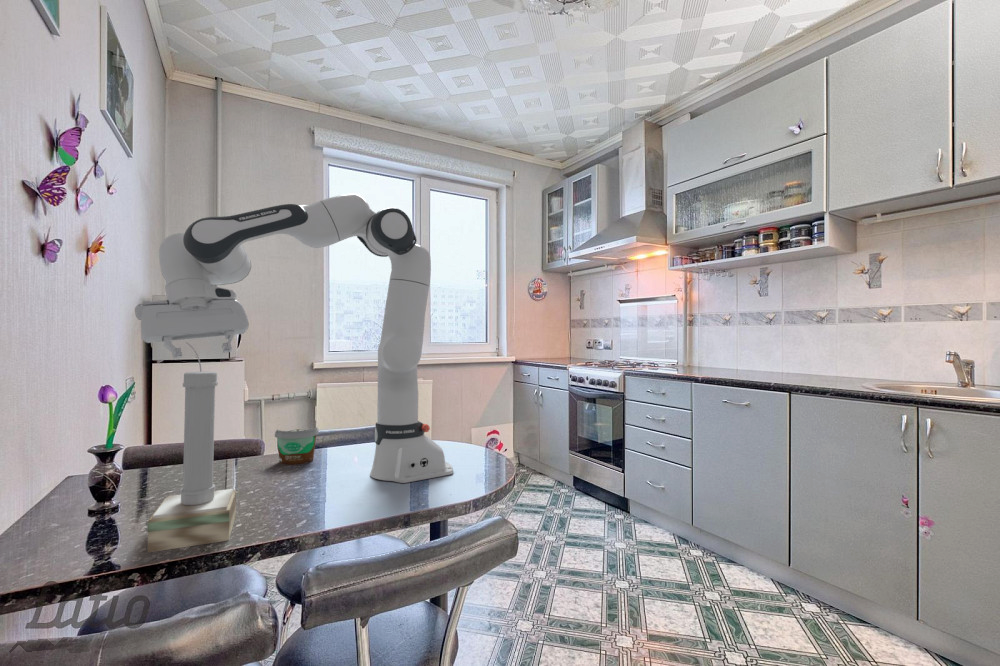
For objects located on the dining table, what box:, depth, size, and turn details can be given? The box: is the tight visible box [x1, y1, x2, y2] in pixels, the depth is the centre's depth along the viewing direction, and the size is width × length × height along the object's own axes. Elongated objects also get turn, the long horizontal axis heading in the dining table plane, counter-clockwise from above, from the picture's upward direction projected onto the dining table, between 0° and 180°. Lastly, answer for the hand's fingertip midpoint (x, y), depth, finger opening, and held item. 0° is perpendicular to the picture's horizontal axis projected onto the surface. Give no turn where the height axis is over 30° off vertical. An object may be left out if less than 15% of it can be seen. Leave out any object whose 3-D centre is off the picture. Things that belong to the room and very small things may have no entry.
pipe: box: [179, 341, 218, 506], centre depth 86 cm, size 6×6×30 cm
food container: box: [274, 426, 320, 466], centre depth 135 cm, size 12×6×10 cm, turn 114°
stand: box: [147, 488, 237, 553], centre depth 86 cm, size 12×12×6 cm
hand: (203, 354), depth 100 cm, fingers open, 8 cm apart
